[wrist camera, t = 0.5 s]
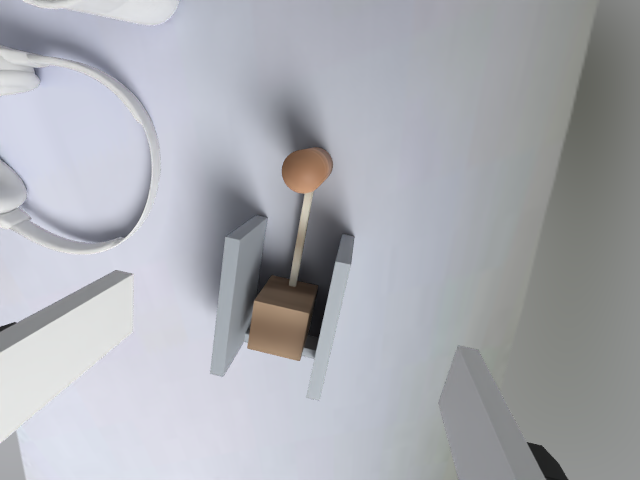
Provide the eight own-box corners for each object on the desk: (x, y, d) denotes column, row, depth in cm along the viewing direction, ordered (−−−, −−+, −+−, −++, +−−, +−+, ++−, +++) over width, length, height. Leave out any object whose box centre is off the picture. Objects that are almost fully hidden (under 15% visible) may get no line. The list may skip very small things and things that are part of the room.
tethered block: (292, 142, 32) (273, 143, 26) (345, 152, 32) (339, 156, 25) (265, 316, 38) (243, 354, 31) (309, 327, 38) (297, 368, 31)
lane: (256, 215, 35) (225, 236, 27) (354, 236, 34) (351, 264, 26) (240, 327, 39) (210, 373, 31) (328, 348, 38) (319, 401, 30)
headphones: (-108, 216, 31) (117, 286, 34) (-111, -8, 26) (159, 98, 29) (-33, 198, 38) (150, 258, 41) (-23, 17, 32) (188, 102, 35)
